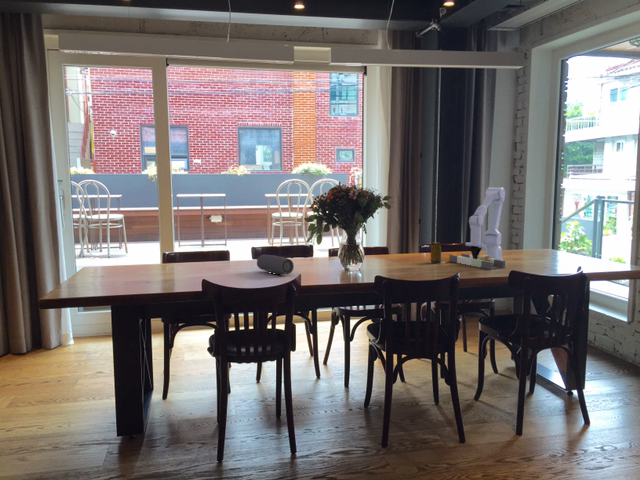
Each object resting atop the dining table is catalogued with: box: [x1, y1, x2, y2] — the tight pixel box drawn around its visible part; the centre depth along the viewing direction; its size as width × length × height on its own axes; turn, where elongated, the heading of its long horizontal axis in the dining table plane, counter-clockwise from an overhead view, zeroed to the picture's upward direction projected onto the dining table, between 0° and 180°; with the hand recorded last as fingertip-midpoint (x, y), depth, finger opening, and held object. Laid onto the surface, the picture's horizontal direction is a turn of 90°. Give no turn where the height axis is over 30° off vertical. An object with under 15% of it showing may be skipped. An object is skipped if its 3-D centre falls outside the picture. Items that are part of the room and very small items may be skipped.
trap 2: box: [492, 266, 504, 270], centre depth 304 cm, size 8×7×1 cm
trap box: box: [448, 252, 506, 271], centre depth 315 cm, size 11×34×4 cm, turn 27°
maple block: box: [478, 254, 491, 262], centre depth 309 cm, size 5×5×4 cm
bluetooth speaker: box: [256, 254, 294, 275], centre depth 295 cm, size 23×9×10 cm, turn 42°
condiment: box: [428, 241, 447, 265], centre depth 323 cm, size 7×8×12 cm
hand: (475, 259), depth 316 cm, fingers closed
